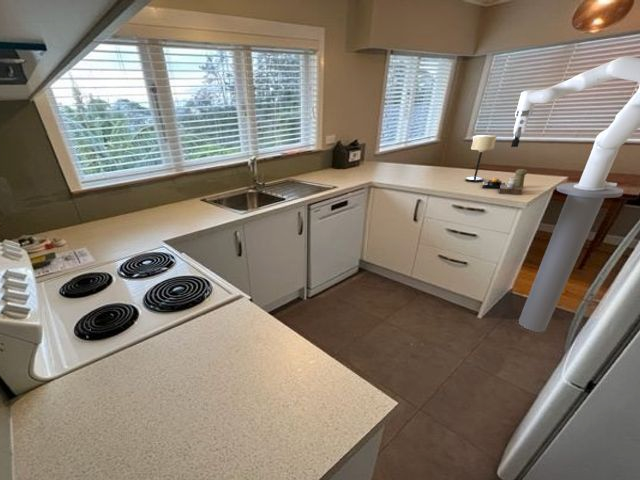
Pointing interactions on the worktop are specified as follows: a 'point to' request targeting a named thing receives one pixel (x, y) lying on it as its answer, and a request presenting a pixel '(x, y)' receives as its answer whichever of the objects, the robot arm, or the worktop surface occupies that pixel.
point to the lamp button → (495, 179)
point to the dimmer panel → (510, 190)
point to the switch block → (492, 184)
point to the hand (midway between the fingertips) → (514, 146)
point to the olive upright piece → (520, 177)
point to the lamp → (481, 145)
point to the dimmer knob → (512, 182)
